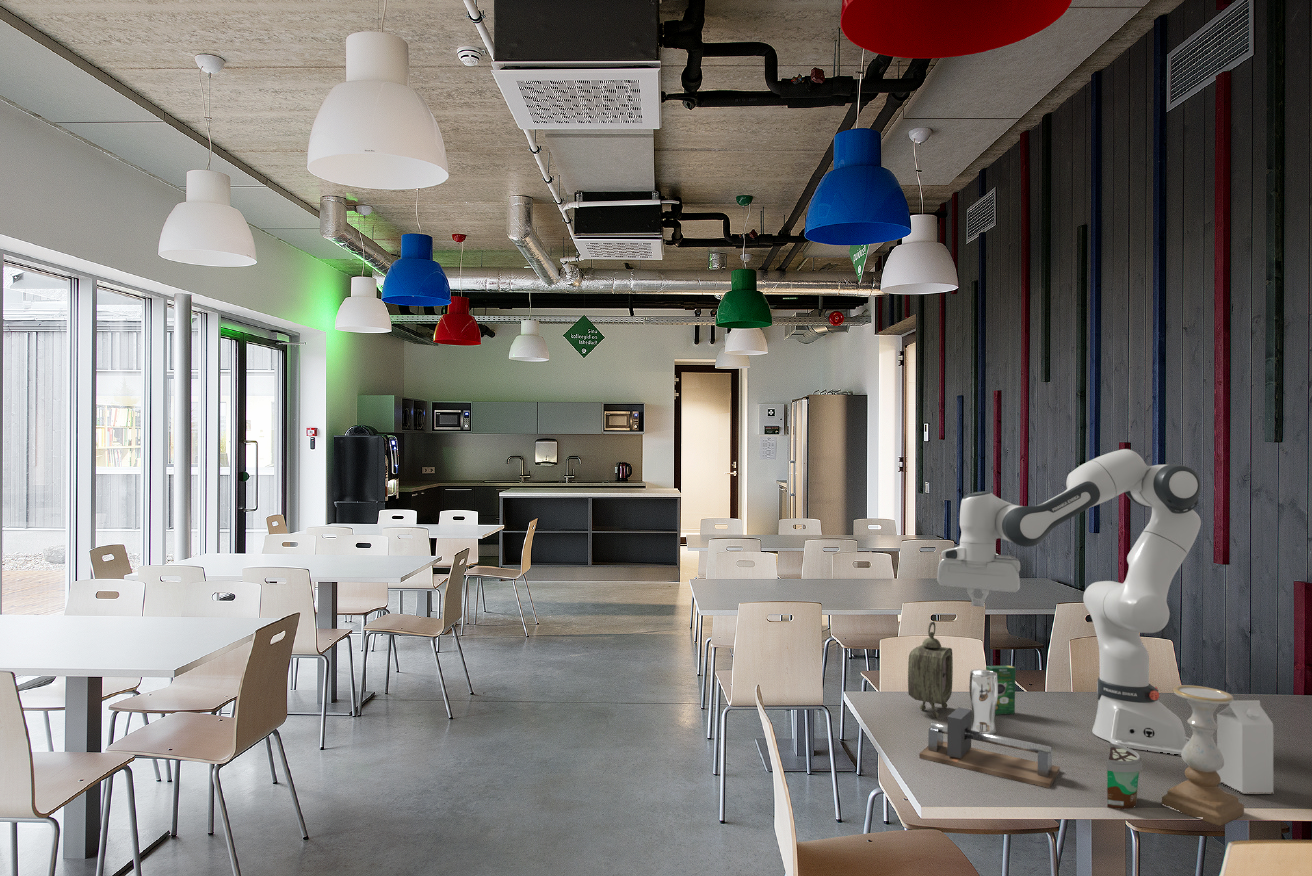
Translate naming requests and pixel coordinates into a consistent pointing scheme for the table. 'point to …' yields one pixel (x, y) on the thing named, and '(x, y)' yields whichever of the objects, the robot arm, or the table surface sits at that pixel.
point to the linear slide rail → (1043, 751)
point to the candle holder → (1203, 762)
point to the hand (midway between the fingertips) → (977, 606)
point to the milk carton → (1246, 746)
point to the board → (994, 765)
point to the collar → (958, 732)
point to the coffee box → (1005, 689)
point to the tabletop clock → (930, 672)
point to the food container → (1122, 777)
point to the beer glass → (983, 700)
